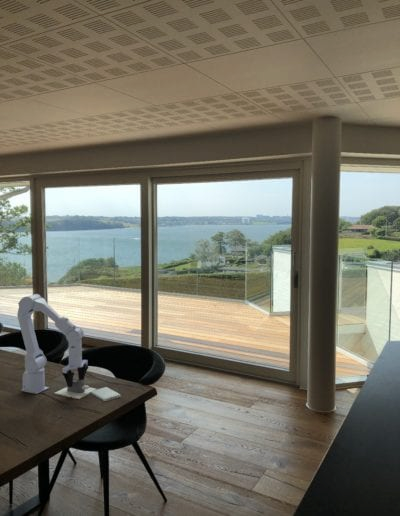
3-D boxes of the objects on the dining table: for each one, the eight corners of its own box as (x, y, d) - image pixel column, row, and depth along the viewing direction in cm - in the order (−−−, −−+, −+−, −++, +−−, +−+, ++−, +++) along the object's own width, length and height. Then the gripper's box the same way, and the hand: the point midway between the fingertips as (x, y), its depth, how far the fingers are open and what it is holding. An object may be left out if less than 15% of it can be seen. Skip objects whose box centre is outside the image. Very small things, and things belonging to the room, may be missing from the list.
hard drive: (90, 391, 194) (104, 398, 184) (106, 386, 199) (120, 393, 190) (90, 394, 194) (104, 402, 184) (106, 390, 199) (121, 397, 190)
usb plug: (65, 390, 195) (65, 379, 195) (71, 387, 199) (71, 377, 198) (84, 394, 190) (84, 383, 190) (90, 391, 194) (90, 380, 194)
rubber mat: (54, 393, 193) (54, 392, 193) (73, 385, 204) (73, 384, 203) (78, 399, 187) (78, 397, 187) (96, 390, 198) (96, 388, 198)
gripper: (71, 360, 186) (71, 390, 187) (92, 351, 199) (93, 380, 200) (58, 358, 189) (59, 388, 190) (80, 349, 202) (81, 378, 203)
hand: (75, 384), depth 195 cm, fingers open, 7 cm apart
